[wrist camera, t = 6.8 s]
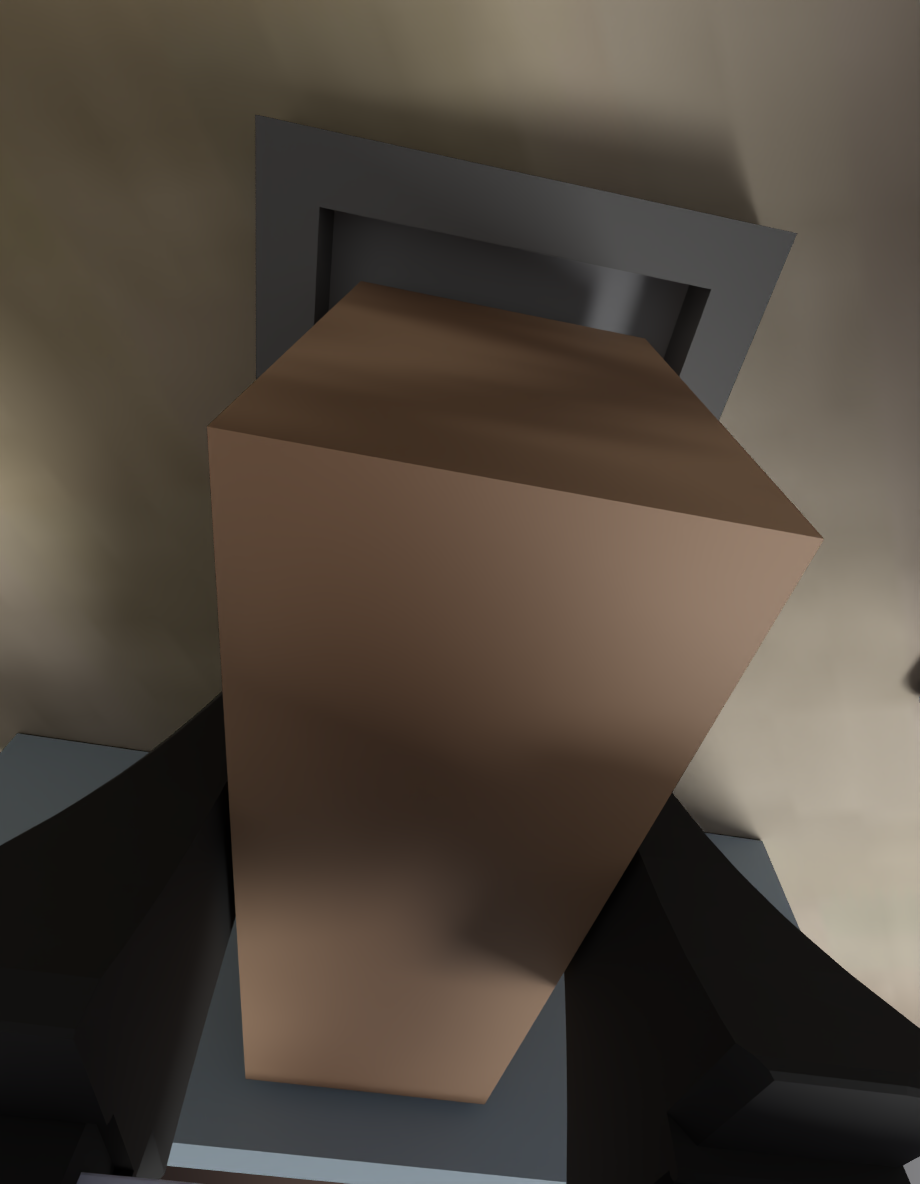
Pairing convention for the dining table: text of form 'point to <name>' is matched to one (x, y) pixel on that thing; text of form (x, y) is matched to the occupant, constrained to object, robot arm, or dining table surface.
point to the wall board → (283, 315)
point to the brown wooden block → (462, 667)
